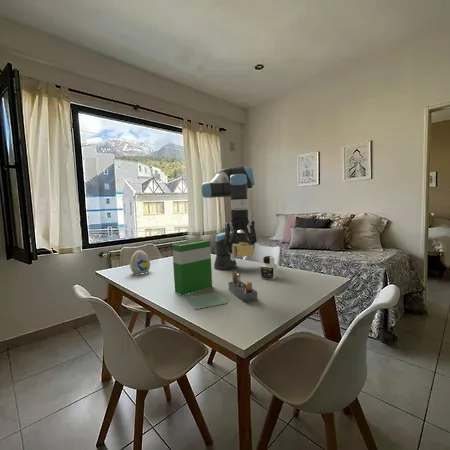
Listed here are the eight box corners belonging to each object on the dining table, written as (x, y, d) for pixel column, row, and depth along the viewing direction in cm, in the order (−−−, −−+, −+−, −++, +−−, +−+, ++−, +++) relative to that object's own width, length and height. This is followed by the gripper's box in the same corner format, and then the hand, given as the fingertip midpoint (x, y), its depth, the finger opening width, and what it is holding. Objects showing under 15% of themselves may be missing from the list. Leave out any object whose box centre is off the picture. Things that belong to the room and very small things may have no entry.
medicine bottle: (261, 278, 141) (260, 257, 140) (265, 275, 148) (264, 254, 146) (273, 280, 138) (273, 258, 137) (277, 276, 144) (276, 255, 143)
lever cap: (228, 253, 119) (228, 242, 119) (243, 251, 122) (243, 240, 122) (237, 257, 110) (236, 245, 110) (253, 254, 113) (253, 243, 113)
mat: (187, 298, 117) (187, 297, 116) (216, 293, 122) (216, 292, 122) (195, 310, 104) (195, 309, 104) (227, 303, 109) (227, 302, 109)
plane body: (228, 290, 125) (228, 271, 124) (239, 288, 127) (239, 270, 126) (245, 303, 108) (244, 282, 108) (257, 300, 111) (256, 279, 110)
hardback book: (204, 283, 137) (201, 239, 135) (212, 286, 132) (210, 240, 130) (175, 291, 126) (172, 244, 124) (182, 295, 120) (179, 245, 118)
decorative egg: (135, 277, 156) (133, 252, 154) (127, 273, 165) (126, 250, 163) (153, 272, 163) (152, 249, 162) (146, 269, 173) (144, 247, 171)
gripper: (220, 210, 107) (223, 263, 109) (264, 208, 114) (265, 257, 116) (214, 210, 114) (217, 260, 116) (255, 208, 121) (257, 254, 123)
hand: (241, 259), depth 116 cm, fingers closed on lever cap, 8 cm apart
